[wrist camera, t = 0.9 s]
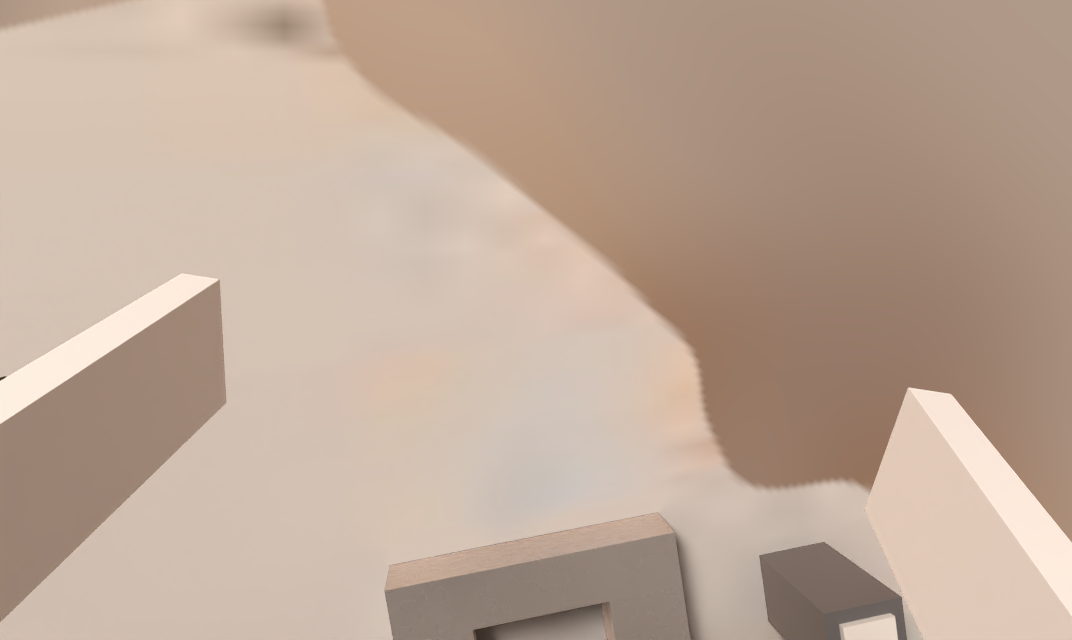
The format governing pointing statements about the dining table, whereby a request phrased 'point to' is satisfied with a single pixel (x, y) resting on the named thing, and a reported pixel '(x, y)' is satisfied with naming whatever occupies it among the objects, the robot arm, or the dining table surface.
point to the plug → (828, 597)
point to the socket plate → (547, 583)
